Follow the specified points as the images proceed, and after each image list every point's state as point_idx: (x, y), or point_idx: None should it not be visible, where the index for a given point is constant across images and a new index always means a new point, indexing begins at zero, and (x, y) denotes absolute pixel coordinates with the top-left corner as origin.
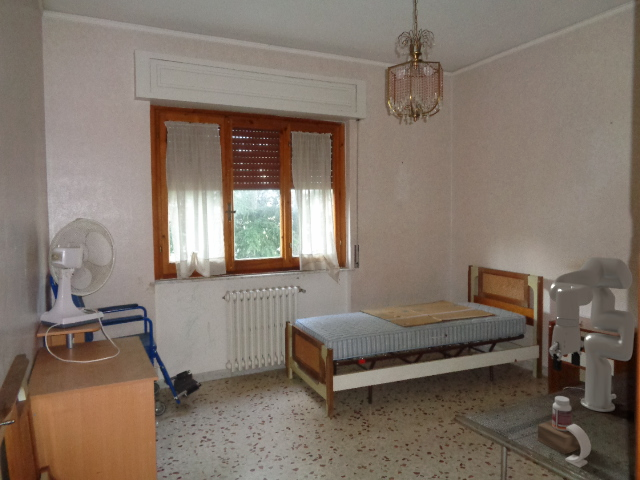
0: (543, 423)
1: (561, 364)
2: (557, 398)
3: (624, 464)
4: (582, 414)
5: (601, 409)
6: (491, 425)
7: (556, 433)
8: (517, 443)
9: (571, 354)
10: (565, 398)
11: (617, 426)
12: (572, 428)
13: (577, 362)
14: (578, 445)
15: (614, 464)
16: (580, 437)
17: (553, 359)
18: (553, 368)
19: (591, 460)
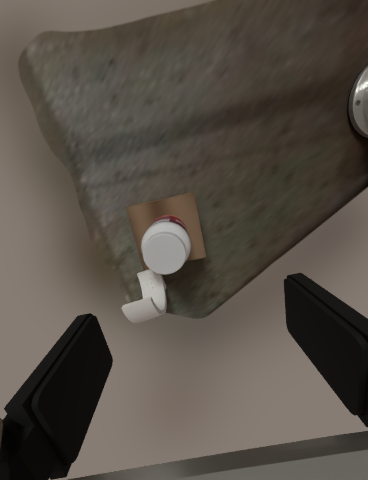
0: (142, 204)
1: (85, 422)
2: (149, 251)
3: (218, 300)
4: (309, 130)
5: (363, 131)
6: (70, 113)
7: (140, 250)
8: (88, 203)
9: (356, 342)
10: (175, 257)
11: (323, 200)
12: (133, 313)
13: (303, 345)
14: None
15: (204, 297)
16: (141, 321)
17: (20, 397)
18: (80, 319)
19: (179, 281)
